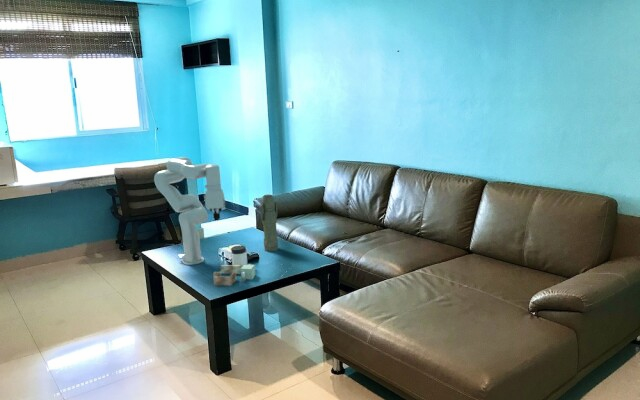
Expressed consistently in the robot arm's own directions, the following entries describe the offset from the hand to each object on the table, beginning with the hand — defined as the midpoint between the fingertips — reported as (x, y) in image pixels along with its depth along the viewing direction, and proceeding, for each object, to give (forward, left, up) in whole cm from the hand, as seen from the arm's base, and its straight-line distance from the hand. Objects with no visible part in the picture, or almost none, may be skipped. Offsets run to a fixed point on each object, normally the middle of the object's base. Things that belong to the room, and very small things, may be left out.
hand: (217, 219), depth 275 cm
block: (+19, -11, -29) cm, 37 cm away
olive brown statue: (+20, +36, -29) cm, 51 cm away
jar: (+10, +3, -29) cm, 31 cm away
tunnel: (+8, -14, -29) cm, 33 cm away
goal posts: (+19, -11, -29) cm, 36 cm away
